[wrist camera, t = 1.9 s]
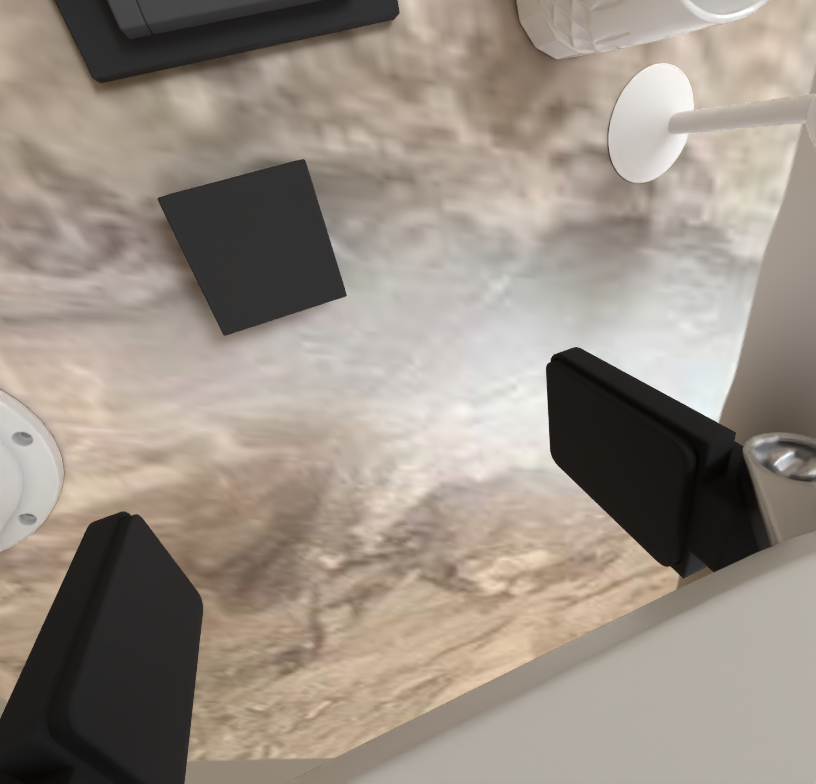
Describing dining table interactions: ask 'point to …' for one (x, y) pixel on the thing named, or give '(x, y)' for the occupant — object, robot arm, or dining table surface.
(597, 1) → the white cup
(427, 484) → the dining table surface
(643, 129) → the champagne flute
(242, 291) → the black pad
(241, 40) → the base pad
